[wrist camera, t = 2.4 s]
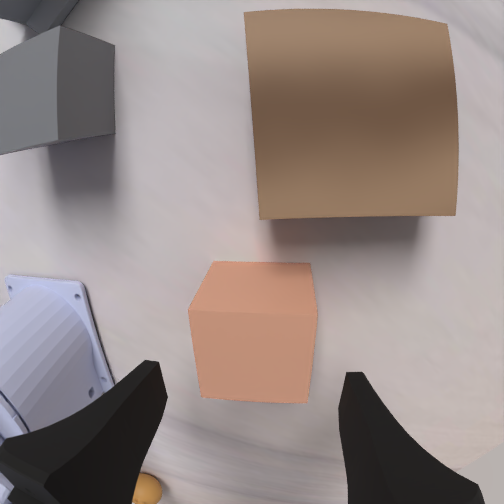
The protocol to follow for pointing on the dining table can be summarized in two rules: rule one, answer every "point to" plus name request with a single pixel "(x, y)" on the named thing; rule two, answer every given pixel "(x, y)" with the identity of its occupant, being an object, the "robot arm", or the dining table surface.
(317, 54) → the walnut base block
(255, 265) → the terracotta cube
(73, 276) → the dining table surface
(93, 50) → the charcoal cube
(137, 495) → the figurine
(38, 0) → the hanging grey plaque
